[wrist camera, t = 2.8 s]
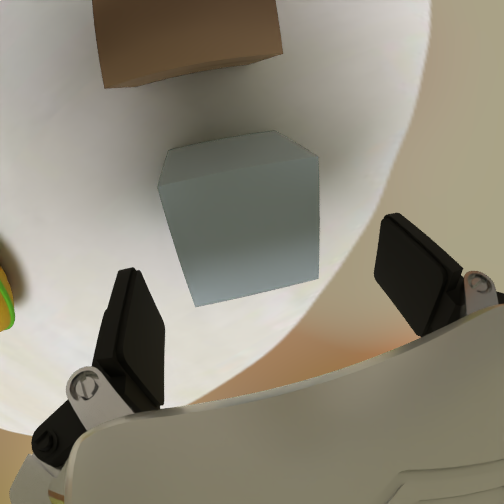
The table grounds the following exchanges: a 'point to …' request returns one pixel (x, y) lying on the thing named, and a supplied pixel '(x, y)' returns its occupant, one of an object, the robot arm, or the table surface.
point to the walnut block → (181, 37)
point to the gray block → (242, 214)
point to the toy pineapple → (6, 303)
